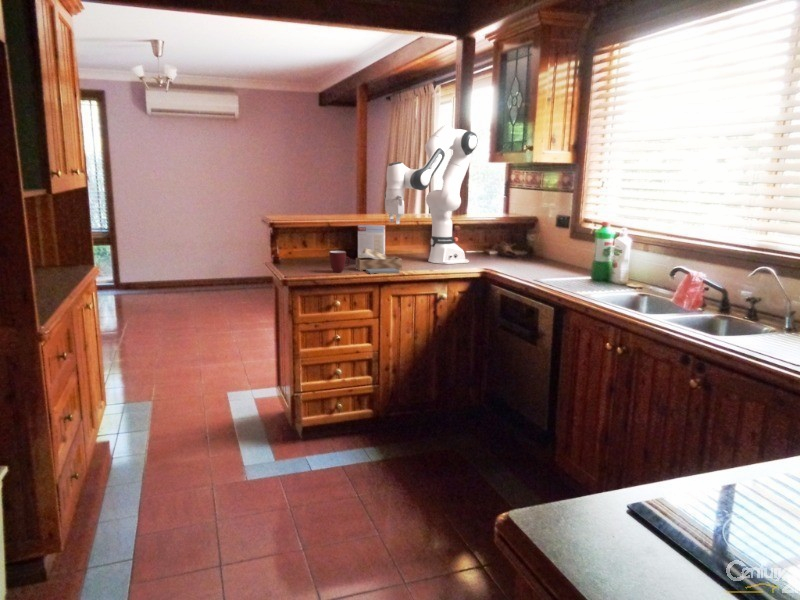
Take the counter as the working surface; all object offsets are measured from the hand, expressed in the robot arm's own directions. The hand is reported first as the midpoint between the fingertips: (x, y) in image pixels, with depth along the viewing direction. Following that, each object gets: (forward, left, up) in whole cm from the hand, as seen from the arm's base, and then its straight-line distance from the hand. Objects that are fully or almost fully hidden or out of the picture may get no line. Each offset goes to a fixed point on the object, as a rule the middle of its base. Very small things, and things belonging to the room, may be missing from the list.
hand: (394, 223), depth 309 cm
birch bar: (+11, 0, -16) cm, 20 cm away
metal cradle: (+8, 0, -19) cm, 20 cm away
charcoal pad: (+9, +9, -23) cm, 26 cm away
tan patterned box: (+8, 0, -23) cm, 24 cm away
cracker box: (+7, -17, -23) cm, 30 cm away
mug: (+29, +4, -23) cm, 37 cm away
